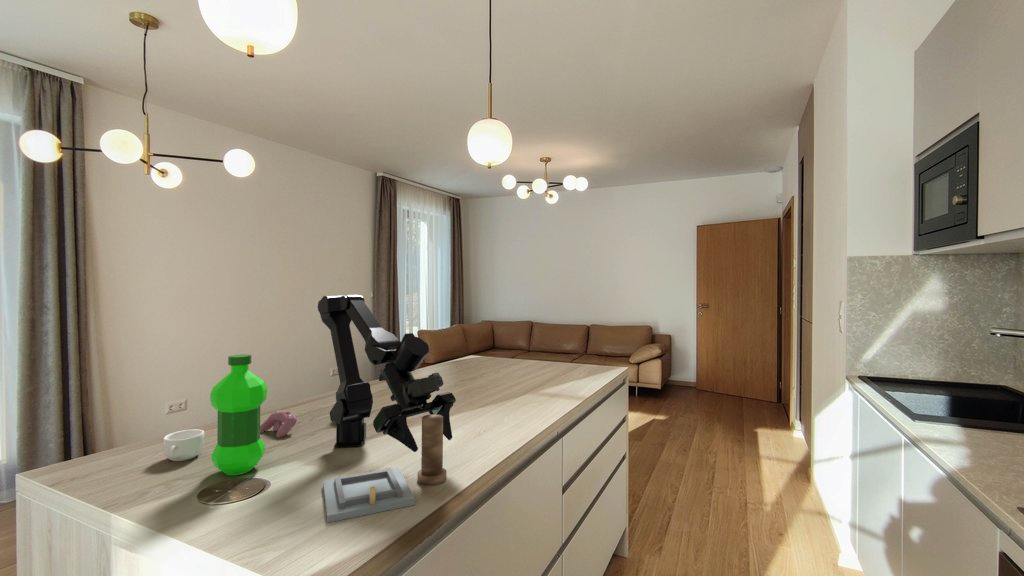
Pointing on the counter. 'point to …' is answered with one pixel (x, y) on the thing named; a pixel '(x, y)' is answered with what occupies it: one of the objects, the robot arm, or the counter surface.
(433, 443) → the flanged spindle
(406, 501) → the base plate
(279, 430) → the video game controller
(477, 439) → the counter surface
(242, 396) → the plastic bottle
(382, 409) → the robot arm
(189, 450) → the teacup
